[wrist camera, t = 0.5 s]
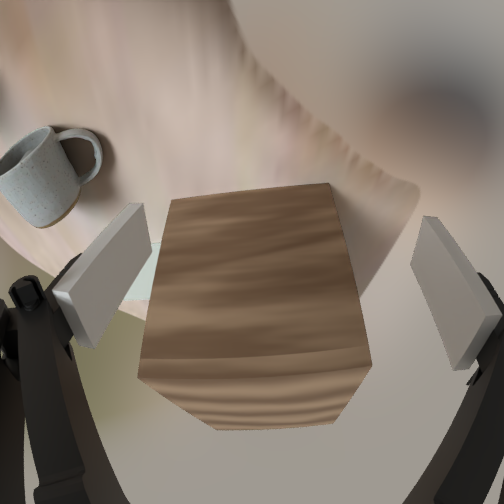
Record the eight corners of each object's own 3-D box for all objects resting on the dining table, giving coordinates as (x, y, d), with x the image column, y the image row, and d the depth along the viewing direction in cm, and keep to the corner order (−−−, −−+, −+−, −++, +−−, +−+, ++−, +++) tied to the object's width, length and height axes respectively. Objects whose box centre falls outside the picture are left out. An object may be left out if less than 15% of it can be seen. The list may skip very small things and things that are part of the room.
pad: (88, 251, 38) (87, 253, 38) (163, 242, 37) (162, 244, 37) (124, 298, 47) (123, 300, 47) (190, 294, 46) (189, 297, 46)
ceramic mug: (48, 193, 30) (22, 242, 26) (14, 140, 25) (-23, 186, 20) (119, 170, 29) (97, 222, 24) (86, 104, 23) (49, 148, 18)
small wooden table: (171, 200, 32) (137, 377, 20) (328, 183, 31) (372, 365, 19) (220, 317, 51) (216, 430, 39) (319, 309, 50) (333, 423, 38)
